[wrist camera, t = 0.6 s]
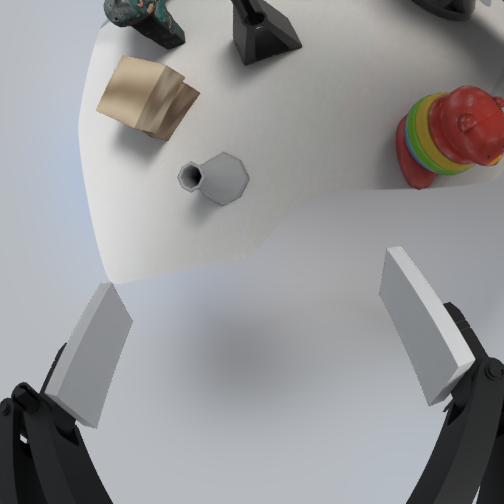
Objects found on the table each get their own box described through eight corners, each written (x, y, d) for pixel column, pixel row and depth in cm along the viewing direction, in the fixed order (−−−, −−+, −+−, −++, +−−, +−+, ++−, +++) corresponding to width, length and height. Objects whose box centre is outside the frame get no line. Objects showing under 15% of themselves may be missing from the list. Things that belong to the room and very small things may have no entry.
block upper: (143, 65, 32) (123, 55, 28) (185, 77, 31) (166, 65, 27) (117, 115, 35) (95, 110, 31) (156, 133, 34) (134, 128, 30)
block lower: (164, 72, 37) (147, 63, 32) (201, 93, 36) (185, 83, 31) (135, 116, 40) (117, 111, 35) (169, 140, 39) (150, 136, 35)
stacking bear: (411, 194, 31) (475, 201, 15) (377, 125, 31) (415, 76, 14) (468, 166, 28) (546, 159, 11) (437, 101, 27) (496, 52, 10)
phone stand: (244, 66, 33) (212, 27, 22) (233, 38, 32) (201, -2, 21) (302, 47, 30) (290, 0, 19) (288, 20, 30) (271, -27, 18)
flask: (224, 143, 37) (191, 131, 27) (259, 178, 37) (235, 175, 27) (191, 179, 39) (152, 179, 30) (223, 214, 39) (190, 223, 30)
